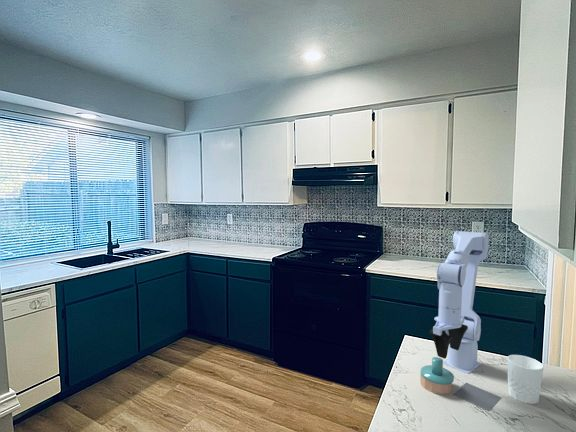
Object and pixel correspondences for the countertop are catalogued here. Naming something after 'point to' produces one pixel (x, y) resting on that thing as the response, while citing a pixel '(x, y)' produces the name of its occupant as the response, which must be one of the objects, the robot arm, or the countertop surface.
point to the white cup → (524, 378)
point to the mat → (477, 396)
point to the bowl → (435, 386)
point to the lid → (437, 372)
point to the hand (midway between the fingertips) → (448, 352)
